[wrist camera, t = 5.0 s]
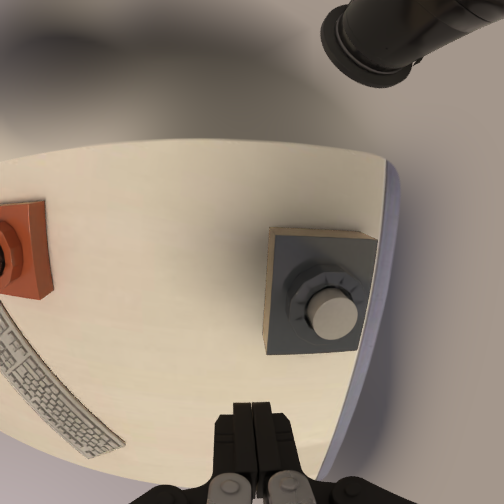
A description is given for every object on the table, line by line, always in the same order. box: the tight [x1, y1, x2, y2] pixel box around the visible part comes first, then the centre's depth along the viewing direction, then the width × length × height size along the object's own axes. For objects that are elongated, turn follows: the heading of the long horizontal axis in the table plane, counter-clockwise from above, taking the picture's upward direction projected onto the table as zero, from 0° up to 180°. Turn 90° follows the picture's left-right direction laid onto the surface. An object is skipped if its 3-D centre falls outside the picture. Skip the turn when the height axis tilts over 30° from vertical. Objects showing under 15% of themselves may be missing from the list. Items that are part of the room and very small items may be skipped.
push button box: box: [262, 227, 378, 355], centre depth 25 cm, size 11×9×6 cm
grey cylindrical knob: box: [307, 288, 358, 340], centre depth 21 cm, size 4×4×2 cm
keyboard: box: [0, 302, 125, 459], centre depth 29 cm, size 29×10×2 cm, turn 32°
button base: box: [0, 201, 54, 300], centre depth 22 cm, size 10×10×5 cm
